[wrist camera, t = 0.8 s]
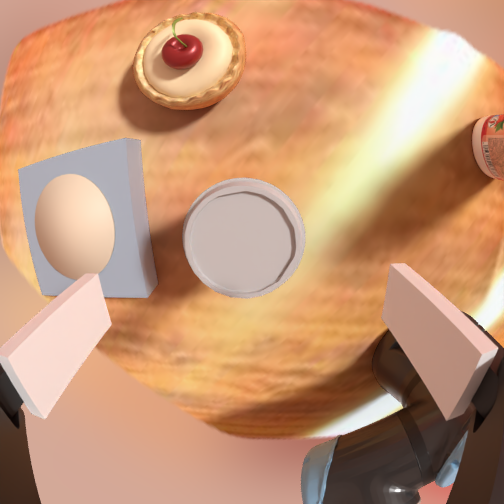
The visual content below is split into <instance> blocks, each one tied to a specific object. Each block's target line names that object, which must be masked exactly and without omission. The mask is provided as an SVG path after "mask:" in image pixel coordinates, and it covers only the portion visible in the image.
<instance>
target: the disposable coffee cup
mask: <svg viewBox="0 0 504 504" xmlns="http://www.w3.org/2000/svg"><path fill="white" fill-rule="evenodd" d="M182 240H183V248H184V252H185V256H186V258H187V260H188V262H189V265H190V266H191V268H192V270H193V271H194V273H195V274H196V275H197V277H198V278H199V279H200V280H201V281H202V282H203V283H204V284H205V285H207V286H208V287H210V288H211V289H213V290H214V291H215V292H218V293H221V294H223V295H226V296H229V297H235V298H253V297H258V296H262V295H265V294H267V293H270V292H272V291H273V290H275V289H276V288H278V287H279V286H281V285H282V284H283V283H285V282H286V281H287V280H288V279H289V278H290V276H291V275H292V274H293V273H294V271H295V270H296V269H297V267H298V265H299V263H300V261H301V259H302V256H303V252H304V247H305V229H304V224H303V220H302V218H301V215H300V213H299V211H298V209H297V207H296V206H295V204H294V203H293V202H292V200H291V199H290V198H289V197H288V196H287V195H286V194H285V193H283V192H282V191H281V190H280V189H278V188H277V187H275V186H273V185H271V184H269V183H267V182H264V181H261V180H258V179H251V178H234V179H229V180H225V181H222V182H219V183H217V184H215V185H213V186H211V187H210V188H208V189H207V190H205V191H204V192H203V193H202V194H201V195H200V196H199V197H198V198H197V199H196V200H195V201H194V203H193V204H192V205H191V207H190V209H189V211H188V213H187V215H186V218H185V221H184V225H183V234H182Z"/></svg>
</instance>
